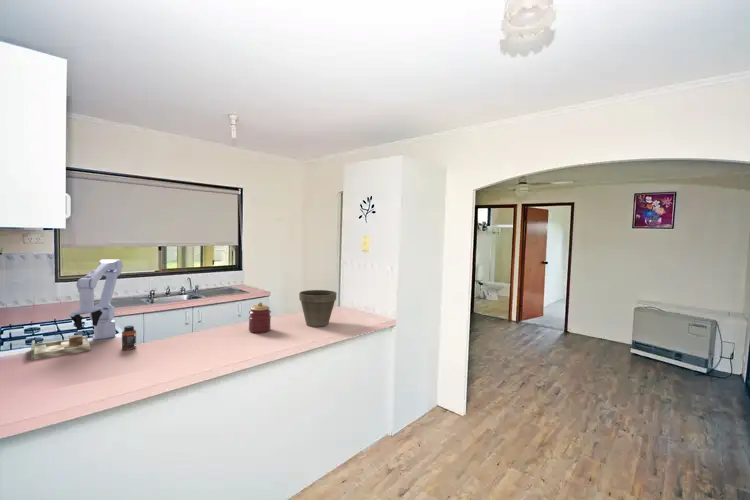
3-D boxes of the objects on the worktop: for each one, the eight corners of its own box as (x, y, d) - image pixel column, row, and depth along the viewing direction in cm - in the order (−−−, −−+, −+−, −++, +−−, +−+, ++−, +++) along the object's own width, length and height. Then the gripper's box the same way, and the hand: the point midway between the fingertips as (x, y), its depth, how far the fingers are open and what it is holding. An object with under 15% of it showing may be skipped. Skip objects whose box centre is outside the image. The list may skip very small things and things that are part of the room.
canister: (266, 333, 213) (267, 304, 212) (245, 333, 213) (245, 304, 213) (273, 328, 226) (273, 300, 225) (253, 327, 226) (253, 300, 226)
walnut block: (81, 341, 182) (81, 334, 182) (82, 344, 179) (82, 336, 178) (69, 343, 179) (68, 335, 179) (69, 346, 175) (69, 338, 175)
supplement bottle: (139, 347, 183) (139, 325, 182) (127, 350, 177) (127, 328, 176) (130, 345, 185) (130, 324, 184) (119, 349, 179) (119, 327, 178)
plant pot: (304, 318, 253) (305, 288, 252) (339, 320, 250) (339, 290, 249) (293, 328, 228) (294, 294, 227) (331, 330, 226) (332, 296, 225)
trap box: (87, 341, 189) (87, 333, 189) (90, 350, 176) (90, 341, 175) (32, 349, 175) (32, 340, 174) (31, 360, 161) (31, 350, 161)
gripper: (96, 298, 190) (96, 323, 190) (65, 303, 176) (65, 330, 177) (105, 299, 188) (105, 324, 188) (75, 304, 174) (75, 331, 175)
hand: (87, 327), depth 182 cm, fingers open, 7 cm apart
